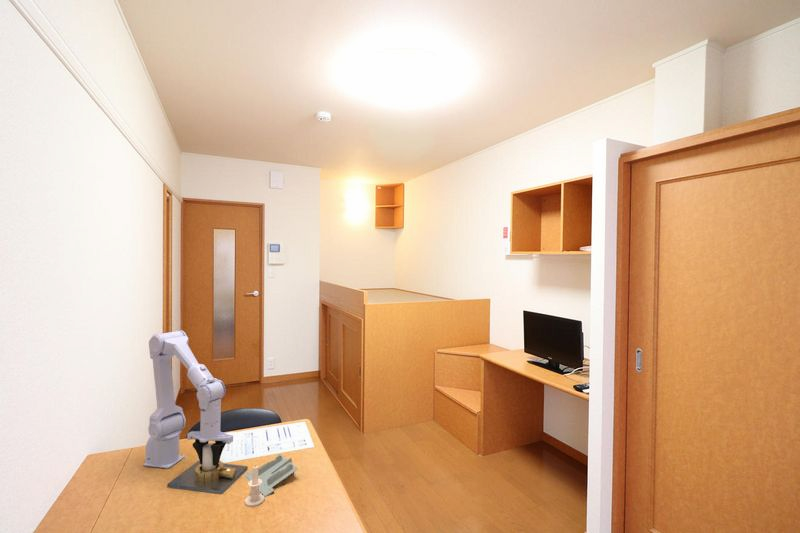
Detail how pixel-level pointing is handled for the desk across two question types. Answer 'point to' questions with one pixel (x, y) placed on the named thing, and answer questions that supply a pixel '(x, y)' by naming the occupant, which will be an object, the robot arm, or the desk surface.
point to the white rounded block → (207, 458)
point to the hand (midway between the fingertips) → (209, 463)
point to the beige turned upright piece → (254, 490)
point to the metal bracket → (273, 473)
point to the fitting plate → (205, 486)
